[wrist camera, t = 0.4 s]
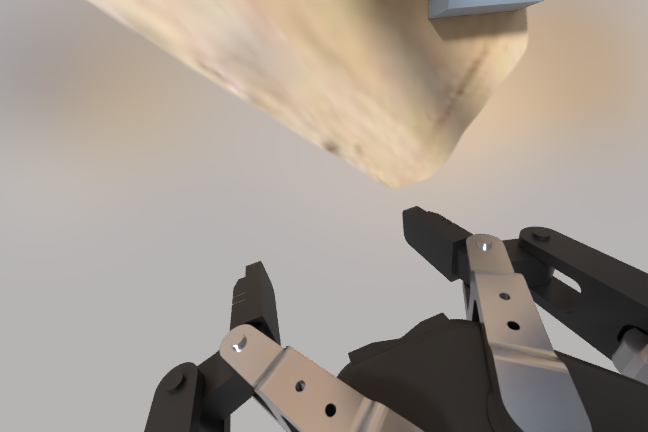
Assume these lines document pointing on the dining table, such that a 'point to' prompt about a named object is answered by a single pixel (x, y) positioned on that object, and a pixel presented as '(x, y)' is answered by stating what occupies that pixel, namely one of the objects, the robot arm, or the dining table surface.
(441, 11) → the socket block
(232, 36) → the dining table surface
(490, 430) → the robot arm
